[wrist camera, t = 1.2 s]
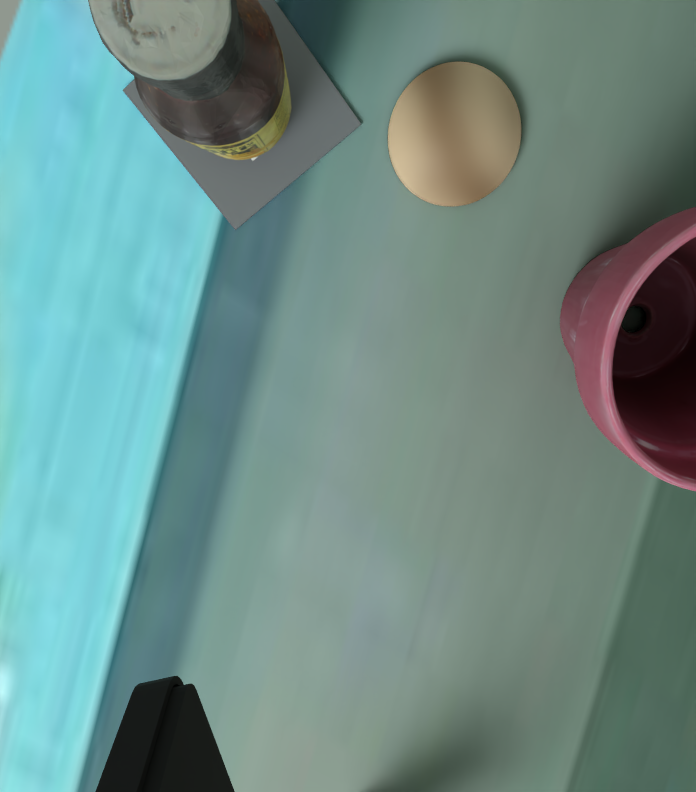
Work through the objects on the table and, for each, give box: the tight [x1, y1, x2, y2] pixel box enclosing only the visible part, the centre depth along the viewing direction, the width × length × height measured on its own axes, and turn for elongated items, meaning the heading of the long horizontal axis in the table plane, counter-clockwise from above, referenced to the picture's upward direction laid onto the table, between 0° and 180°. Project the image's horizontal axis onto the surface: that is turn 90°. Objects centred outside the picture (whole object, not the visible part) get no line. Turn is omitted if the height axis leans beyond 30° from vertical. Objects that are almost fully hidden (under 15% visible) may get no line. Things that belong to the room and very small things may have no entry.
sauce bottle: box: [88, 0, 291, 160], centre depth 26 cm, size 6×6×20 cm
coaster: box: [388, 62, 521, 206], centre depth 36 cm, size 8×8×1 cm
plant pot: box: [560, 207, 696, 491], centre depth 34 cm, size 14×14×13 cm
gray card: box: [123, 0, 361, 230], centre depth 35 cm, size 10×10×1 cm
